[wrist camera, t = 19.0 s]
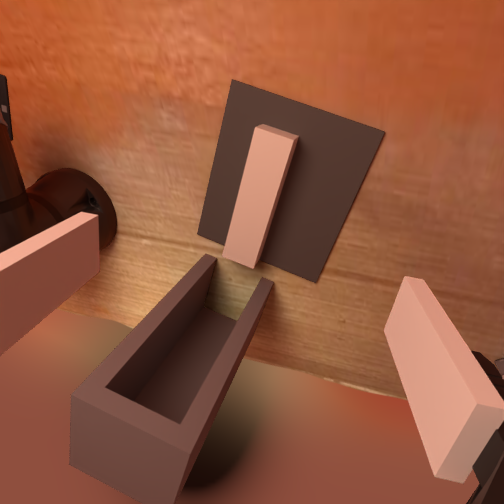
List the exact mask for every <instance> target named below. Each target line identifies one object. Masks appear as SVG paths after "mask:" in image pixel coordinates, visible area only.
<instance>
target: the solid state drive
mask: <svg viewBox="0 0 504 504" xmlns="http://www.w3.org/2000/svg"><path fill="white" fill-rule="evenodd" d="M0 111H1V113H2V116H3V119H4V121H5V122H6V123H7V125H8V129H7V131H8V134H9V137H10V140H13V134H12V125H11V115H10V106H9V96H8V87H7V78H6V76H4V75H1V74H0Z"/></svg>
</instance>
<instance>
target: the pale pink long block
mask: <svg viewBox="0 0 504 504" xmlns="http://www.w3.org/2000/svg"><path fill="white" fill-rule="evenodd" d="M298 138H299V136H297V135H294V134H291V133H288V132H285V131H282V130H280V129H277V128H274V127H271V126H268V125H265V124H261V125H259V126H256V127H255V130H254V134H253V137H252V141H251V145H250V149H249V153H248V157H247V161H246V165H245V169H244V173H243V177H242V180H241V184H240V188H239V192H238V196H237V200H236V204H235V208H234V212H233V216H232V220H231V223H230V227H229V231H228V235H227V239H226V243H225V247H224V251H223V255H222V257H225V258H227V259H230V260H232V261H235V262H237V263H240V264H242V265H245V266H247V267H250V268H252V269H254V267H255V265H256V264H257V262H258V261H259V259H260V256H261V253H262V250H263V247H264V244H265V241H266V238H267V234H268V231H269V228H270V225H271V222H272V219H273V216H274V213H275V210H276V206H277V203H278V200H279V197H280V194H281V191H282V188H283V185H284V181H285V178H286V175H287V172H288V169H289V166H290V163H291V160H292V157H293V153H294V150H295V147H296V144H297V141H298Z"/></svg>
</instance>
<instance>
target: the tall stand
mask: <svg viewBox="0 0 504 504" xmlns="http://www.w3.org/2000/svg"><path fill="white" fill-rule="evenodd" d="M216 259H217V258H215V257H213V256H210V255H208V254H205V255H204V256H203V257H202V258H201V259H200V260H199V261H198V262H197V263H196V264H195V265H194V266H193V267H192V268H191V269H190V270H189V271H188V273H187V274H186V275H185V276H184V277H183V278H182V279H181V280H180V281H179V282H178V283H177V284H176V285H175V286H174V287H173V288H172V289H171V290H170V291H169V292H168V293H167V295H166V296H165V297H164V298H163V299H162V300H161V301H160V302H159V303H158V304H157V305H156V306H155V307H154V308H153V309H152V310H151V311H150V312H149V313H148V314H147V315H146V317H145V318H144V319H143V320H142V321H141V322H140V323H139V324H138V325H137V326H136V327H135V328H134V329H133V330H132V331H131V332H130V334H128V335H127V336H126V338H125V339H124V340H123V341H122V342H121V343H120V344H119V345H118V346H117V347H116V348H115V349H114V350H113V351H112V352H111V353H110V354H109V355H108V356H107V357H106V359H105V360H104V361H103V362H102V363H101V364H100V365H99V366H98V367H97V368H96V369H95V370H94V371H93V372H92V373H91V374H90V375H89V376H88V377H87V378H86V380H84V382H83V383H82V384H81V385H80V386H79V387H78V388H77V389H76V390H75V391H74V392H73V393H72V394H71V420H70V421H71V422H70V461H69V464H70V465H71V466H73V467H75V468H77V469H79V470H80V471H82V472H84V473H86V474H88V475H90V476H92V477H94V478H96V479H97V480H99V481H101V482H103V483H105V484H107V485H109V486H110V487H112V488H114V489H116V490H118V491H120V492H122V493H124V494H126V495H128V496H129V497H131V498H133V499H135V500H137V501H139V502H141V503H142V504H175V503H176V501H177V499H178V497H179V495H180V493H181V490H182V488H183V486H184V484H185V482H186V480H187V478H188V475H189V473H190V471H191V469H192V467H193V464H194V462H195V460H196V458H197V456H198V454H199V451H200V449H201V447H202V445H203V443H204V441H205V439H206V436H207V434H208V432H209V430H210V428H211V426H212V424H213V421H214V419H215V417H216V415H217V413H218V410H219V408H220V406H221V404H222V402H223V400H224V398H225V395H226V393H227V391H228V389H229V387H230V385H231V383H232V380H233V378H234V376H235V374H236V372H237V370H238V367H239V365H240V363H241V361H242V359H243V357H244V355H245V352H246V350H247V348H248V346H249V344H250V342H251V339H252V337H253V335H254V332H255V330H256V327H257V325H258V322H259V319H260V317H261V314H262V311H263V309H264V306H265V304H266V301H267V298H268V296H269V293H270V290H271V288H272V285H273V283H274V282H273V281H270V280H268V279H266V278H263V277H262V278H261V280H260V282H259V284H258V285H257V287H256V289H255V291H254V293H253V294H252V296H251V298H250V300H249V302H248V303H247V305H246V307H245V309H244V311H243V312H242V314H241V316H240V318H239V320H238V321H235V320H233V319H231V318H229V317H226V316H224V315H222V314H219V313H217V312H215V311H213V310H210V309H208V308H206V307H204V304H205V300H206V296H207V293H208V289H209V285H210V281H211V278H212V274H213V270H214V266H215V263H216Z"/></svg>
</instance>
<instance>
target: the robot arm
mask: <svg viewBox="0 0 504 504" xmlns="http://www.w3.org/2000/svg"><path fill="white" fill-rule="evenodd" d="M7 129H8V125H7V123H6V122H5V121H4V119H3V116H2V113H1V111H0V356H1V355H2V354H3V353H4V352H5V351H7V350H8V349H9V348H10V347H11V346H12V345H14V344H15V343H16V342H17V341H18V340H20V338H22V337H23V336H24V335H25V334H26V333H28V332H29V331H30V330H31V329H33V328H34V327H35V326H36V325H37V324H38V323H40V322H41V321H42V320H43V319H44V318H45V317H47V316H48V315H49V314H50V313H51V312H52V311H54V310H55V309H56V308H57V307H58V306H60V305H61V304H62V303H63V302H64V301H65V300H67V299H68V298H69V297H70V296H71V295H72V294H74V293H75V292H76V291H77V290H78V289H80V288H81V287H82V286H83V285H84V284H85V283H87V282H88V281H89V280H90V279H91V278H92V277H94V276H95V275H96V274H97V273H98V272H99V271H100V259H99V251H100V250H102V249H104V248H105V247H107V246H108V245H109V244H110V243H111V241H112V240H113V238H114V236H115V232H116V215H115V211H114V208H113V205H112V203H111V201H110V199H109V197H108V195H107V194H106V192H105V191H104V190H103V188H102V187H101V186H100V185H99V184H98V183H97V182H96V181H95V180H94V179H93V178H91V177H90V176H89V175H87V174H85V173H83V172H81V171H79V170H76V169H71V168H62V169H58V170H54V171H51V172H48V173H46V174H44V175H43V176H41V177H40V178H39V179H38V180H37V181H36V183H35V184H33V185H32V186H31V187H29V188H28V189H25V186H24V183H23V179H22V176H21V173H20V170H19V166H18V163H17V160H16V157H15V153H14V150H13V147H12V144H11V141H10V137H9V134H8V131H7ZM384 332H385V335H386V338H387V341H388V344H389V347H390V349H391V352H392V355H393V358H394V361H395V364H396V367H397V370H398V373H399V375H400V378H401V381H402V384H403V387H404V390H405V393H406V396H407V399H408V402H409V404H410V407H411V410H412V413H413V416H414V419H415V422H416V425H417V428H418V430H419V433H420V436H421V439H422V442H423V445H424V448H425V451H426V454H427V457H428V459H429V462H430V465H431V468H432V471H433V474H434V476H435V477H438V478H442V479H446V480H450V481H455V482H459V483H464V482H465V480H466V478H467V477H468V475H469V473H470V472H471V471H472V469H473V470H474V472H475V474H476V476H477V479H478V481H479V483H480V484H479V485H478V487H477V489H476V490H475V491H474V493H473V494H472V496H471V497H470V499H469V500H468V502H467V503H466V504H504V379H502V376H501V374H500V373H499V371H498V370H497V369H496V367H495V366H494V364H492V363H491V362H490V361H489V360H488V359H487V358H486V357H484V356H483V355H482V354H481V353H480V352H475V351H471V350H470V349H469V348H468V346H467V345H466V343H465V342H464V340H463V339H462V337H461V336H460V334H459V333H458V331H457V330H456V328H455V327H454V325H453V323H452V322H451V320H450V319H449V317H448V316H447V314H446V313H445V311H444V310H443V308H442V307H441V305H440V304H439V302H438V301H437V299H436V298H435V296H434V295H433V293H432V292H431V290H430V289H429V287H428V286H427V284H426V283H425V281H424V280H423V279H418V278H413V277H408V276H404V279H403V282H402V284H401V287H400V290H399V292H398V295H397V297H396V300H395V303H394V305H393V308H392V310H391V313H390V316H389V318H388V321H387V323H386V326H385V329H384Z"/></svg>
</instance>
